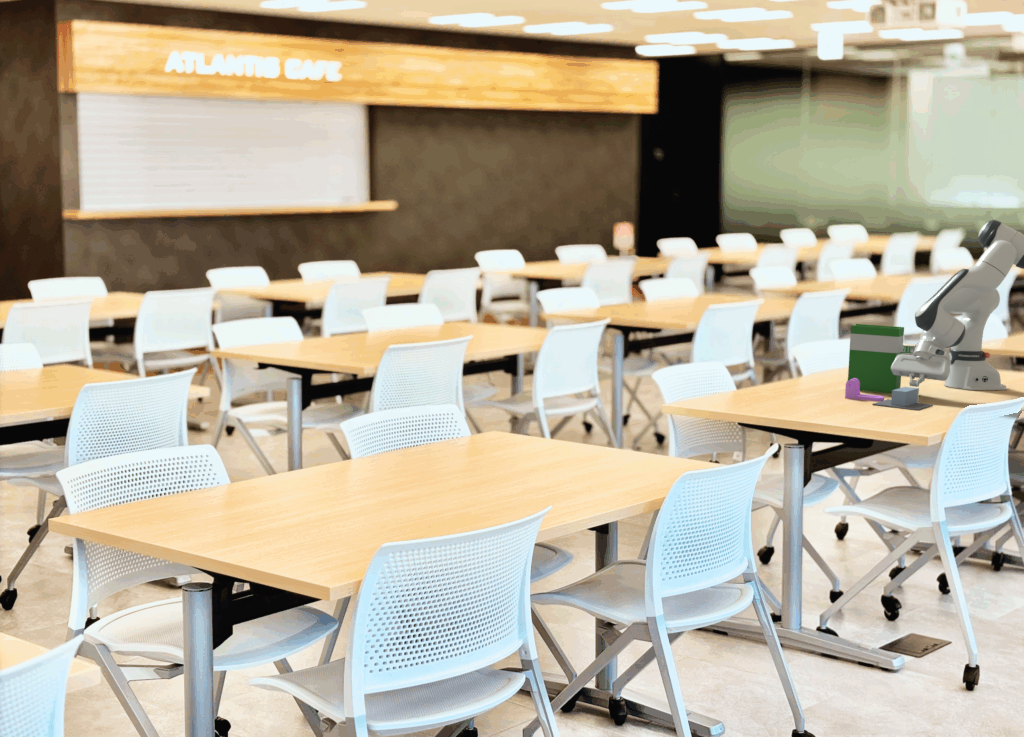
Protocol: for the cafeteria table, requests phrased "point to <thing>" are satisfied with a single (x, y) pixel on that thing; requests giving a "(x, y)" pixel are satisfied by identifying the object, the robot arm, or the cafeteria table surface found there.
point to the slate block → (905, 396)
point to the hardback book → (875, 356)
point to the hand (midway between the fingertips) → (913, 385)
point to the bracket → (858, 392)
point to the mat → (912, 407)
